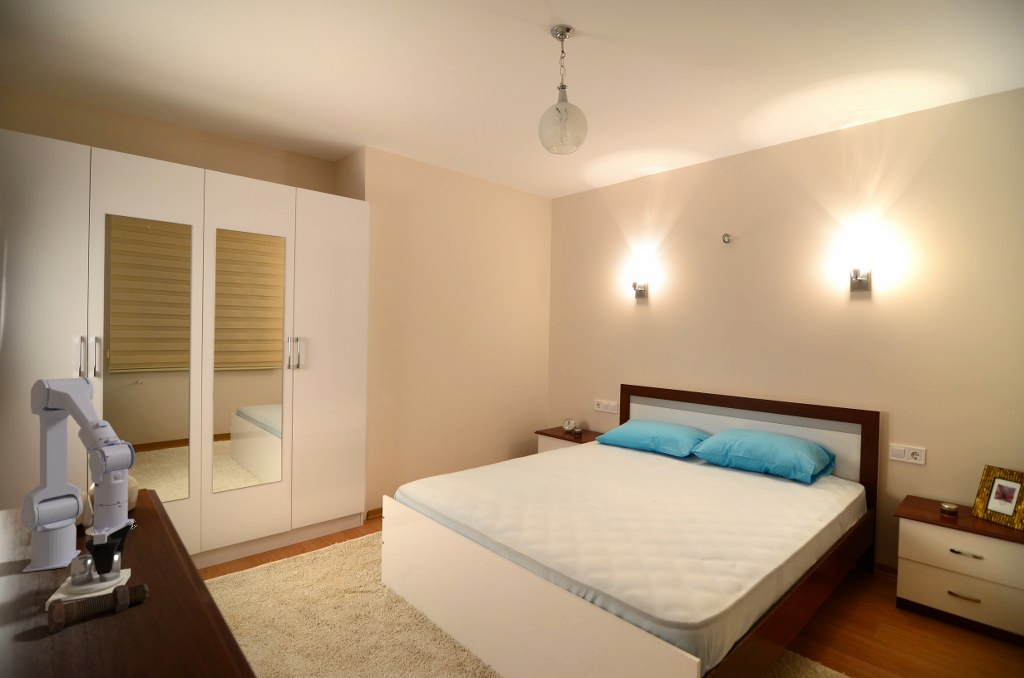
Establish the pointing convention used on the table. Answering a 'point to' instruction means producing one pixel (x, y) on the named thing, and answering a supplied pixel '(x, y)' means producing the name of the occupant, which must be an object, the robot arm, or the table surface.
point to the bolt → (94, 605)
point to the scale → (87, 588)
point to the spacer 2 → (115, 569)
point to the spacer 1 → (82, 570)
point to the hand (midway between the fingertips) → (110, 565)
